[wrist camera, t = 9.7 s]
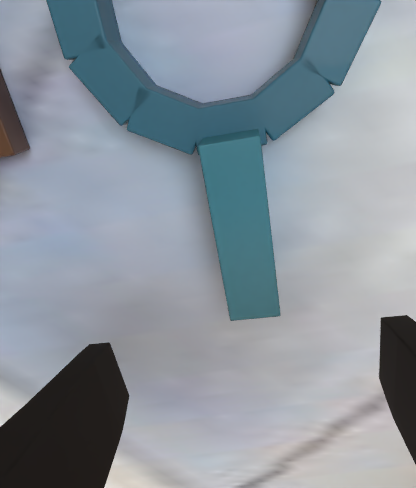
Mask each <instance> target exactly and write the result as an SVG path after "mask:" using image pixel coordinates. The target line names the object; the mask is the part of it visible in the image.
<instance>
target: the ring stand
mask: <svg viewBox="0 0 416 488" xmlns="http://www.w3.org/2000/svg"><path fill="white" fill-rule="evenodd" d="M28 149H29V145H28V143H27V140H26V137H25V135H24V132H23V129H22V127H21V124H20V121H19V119H18V116H17V114H16V111H15V108H14V106H13V103H12V100H11V98H10V95H9V92H8V90H7V87H6V84H5V82H4V79H3V77H2V74H1V71H0V158H1V157H6V156H12V155H16V154H18V153H21V152H23V151H26V150H28Z"/></svg>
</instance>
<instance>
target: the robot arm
mask: <svg viewBox="0 0 416 488" xmlns="http://www.w3.org/2000/svg"><path fill="white" fill-rule="evenodd" d="M379 379H380V382H381V385H382V388H383V391H384V394H385V397H386V400H387V402H388V405H389V408H390V411H391V413H392V416H393V419H394V421H395V423H396V425H397V427H398V429H399V431H400V433H401V435H402V437H403V439H404V442H405V444H406V446H407V448H408V450H409V452H410V454H411V456H412V458H413V460H414V462H415V464H416V322H415V321H414V320H413V319H411V318H410V317H409V316H407V315H405V316H394V317H383V318H381V335H380V369H379ZM128 400H129V394H128V391H127V388H126V385H125V383H124V380H123V377H122V374H121V372H120V369H119V366H118V364H117V361H116V358H115V355H114V353H113V350H112V347H111V344H110V343H99V344H89V345H88V346H87V347H86V348H85V349H84V350H82V351H81V352H80V353H79V354H78V355H77V356H76V357H75V358H74V359H73V360H72V361H71V362H70V363H69V364H68V365H66V366H65V367H64V368H63V369H62V370H61V371H60V372H59V373H58V374H57V375H56V376H55V377H54V378H53V379H52V380H51V381H50V382H49V383H48V384H47V385H46V386H45V387H44V388H43V389H41V390H40V391H39V392H38V393H37V394H36V395H35V396H34V397H33V398H32V399H31V400H30V401H29V402H28V403H27V404H26V405H25V406H23V407H22V408H21V409H20V410H19V411H18V412H17V413H16V414H14V415H13V416H12V417H11V418H10V419H9V420H8V421H7V422H5V423H4V424H3V425H2V426H1V427H0V488H104V487H105V484H106V481H107V478H108V475H109V471H110V468H111V465H112V462H113V459H114V456H115V453H116V450H117V447H118V444H119V441H120V437H121V434H122V430H123V426H124V421H125V416H126V411H127V405H128Z"/></svg>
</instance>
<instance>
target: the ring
mask: <svg viewBox="0 0 416 488" xmlns="http://www.w3.org/2000/svg"><path fill="white" fill-rule="evenodd" d="M47 4H48V7H49V10H50V13H51V17H52V20H53V23H54V26H55V30H56V33H57V36H58V39H59V43H60V46H61V49H62V53H63V56H64V58H65V59H67V60H74V61H73V62H72V63H71V64H70V66H69V68H70V69H71V70H72V72H73V73H74V74H75V75H76V76H77V77H78V78H79V79H80V81H81V82H82V83H83V84H84V85H85V86H86V87H87V88H88V90H89V91H90V92H91V93H92V94H93V95H94V96H95V98H96V99H97V100H98V101H99V102H100V103H101V104H102V105H103V107H104V108H105V109H106V110H107V111H108V112H109V113H110V114H111V116H112V117H113V118H114V119H115V120H116V121H117V122H118V124H119V125H124V124H126V123H128V126H127V130H128V131H130V132H133V133H135V134H138V135H141V136H143V137H146V138H148V139H151V140H154V141H156V142H159V143H162V144H164V145H167V146H169V147H172V148H175V149H177V150H180V151H183V152H185V153H188V154H190V155H192V154H193V152H194V150H195V148H196V147H197V152H198V155H200V160H201V165H202V171H203V176H204V181H205V187H206V192H207V198H208V203H209V208H210V214H211V219H212V224H213V230H214V235H215V241H216V246H217V251H218V257H219V262H220V268H221V273H222V278H223V284H224V289H225V295H226V300H227V305H228V311H229V316H230V320H231V321H234V320H244V319H255V318H266V317H276V316H280V306H279V297H278V288H277V279H276V270H275V262H274V253H273V244H272V235H271V226H270V217H269V209H268V200H267V191H266V182H265V173H264V164H263V156H262V147H261V145H266V144H267V137H266V133H267V134H268V135H269V137H270V138H271V139H272V140H273V141H274V140H276V139H277V138H279V137H280V136H281V135H282V134H284V133H285V132H286V131H287V130H289V129H290V128H291V127H293V126H294V125H295V124H296V123H298V122H299V121H300V120H301V119H303V118H304V117H305V116H307V115H308V114H309V113H310V112H312V111H313V110H314V109H315V108H317V107H318V106H319V105H321V104H322V103H323V102H324V101H326V100H327V99H328V98H329V97H331V96H332V95H333V94H334V90H333V88H332V87H331V85H330V84H332V85H337V86H340V85H341V84H342V82H343V80H344V78H345V76H346V74H347V72H348V70H349V68H350V66H351V64H352V62H353V60H354V58H355V56H356V54H357V52H358V50H359V48H360V46H361V43H362V41H363V39H364V37H365V35H366V33H367V31H368V29H369V27H370V25H371V23H372V21H373V19H374V17H375V15H376V13H377V11H378V9H379V6H380V4H381V1H380V0H318V1H317V3H316V6H315V8H314V11H313V13H312V15H311V18H310V20H309V22H308V25H307V27H306V30H305V32H304V34H303V37H302V39H301V42H300V44H299V46H298V49H297V51H296V54H295V56H294V58H293V60H291V61H290V62H289V63H288V64H287V65H286V66H284V67H283V68H282V69H281V70H280V71H279V72H278V73H276V74H275V75H274V76H273V77H272V78H271V79H269V80H268V81H267V82H266V83H265V84H264V85H262V86H261V87H260V88H259V89H258V90H257V91H255V92H254V93H253V94H252V95H248V96H242V97H237V98H231V99H226V100H221V101H215V102H210V103H204V104H202V103H200V102H197V101H195V100H192V99H190V98H187V97H185V96H182V95H179V94H177V93H174V92H172V91H169V90H167V89H164V88H162V87H159V86H157V85H156V84H155V83H154V82H153V80H152V79H151V78H150V77H149V75H148V74H147V73H146V72H145V71H144V69H143V68H142V67H141V66H140V64H139V63H138V62H137V61H136V60H135V58H134V57H133V56H132V55H131V53H130V52H129V51H128V50H127V48H126V47H125V46H124V45H123V44H122V42H121V38H120V34H119V30H118V26H117V22H116V17H115V13H114V9H113V5H112V1H111V0H47Z"/></svg>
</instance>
